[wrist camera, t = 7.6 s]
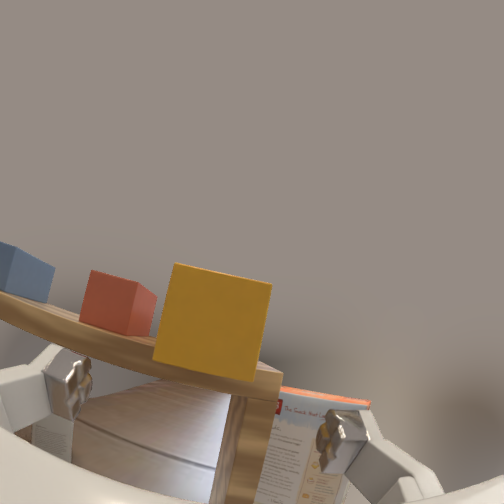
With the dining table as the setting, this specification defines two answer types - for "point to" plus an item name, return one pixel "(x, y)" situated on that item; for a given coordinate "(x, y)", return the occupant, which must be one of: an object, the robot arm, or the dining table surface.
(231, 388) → the shelf
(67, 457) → the small box
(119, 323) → the block
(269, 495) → the cracker box
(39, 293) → the block
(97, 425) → the dining table surface
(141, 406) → the dining table surface
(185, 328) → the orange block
